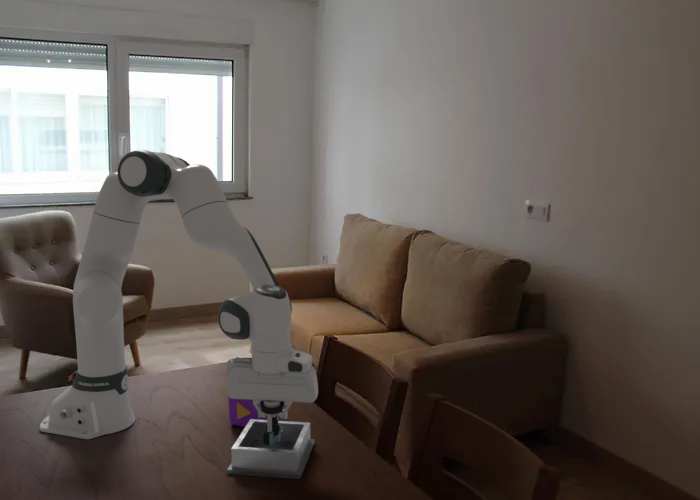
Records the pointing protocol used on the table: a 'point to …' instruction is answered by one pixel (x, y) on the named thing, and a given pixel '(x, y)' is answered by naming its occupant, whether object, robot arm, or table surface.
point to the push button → (272, 420)
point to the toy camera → (243, 412)
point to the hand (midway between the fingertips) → (273, 417)
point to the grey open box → (272, 451)
